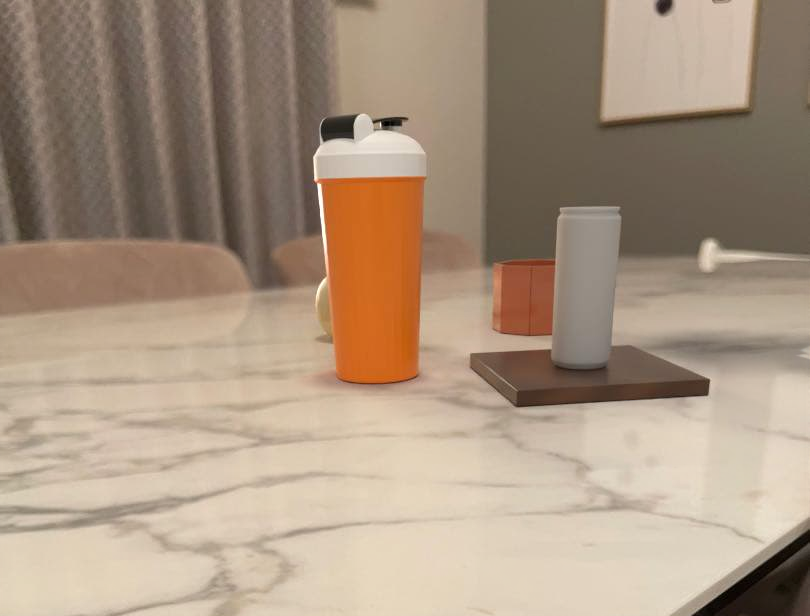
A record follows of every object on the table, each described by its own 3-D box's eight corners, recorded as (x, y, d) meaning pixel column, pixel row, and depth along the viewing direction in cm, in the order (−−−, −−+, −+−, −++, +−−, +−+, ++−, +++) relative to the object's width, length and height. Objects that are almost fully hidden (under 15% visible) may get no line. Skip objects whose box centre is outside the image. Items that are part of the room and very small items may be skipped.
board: (629, 358, 77) (630, 344, 77) (708, 394, 64) (710, 379, 63) (469, 366, 75) (470, 353, 75) (516, 406, 62) (517, 390, 61)
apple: (406, 328, 93) (403, 269, 87) (359, 369, 90) (353, 311, 83) (352, 301, 96) (345, 243, 90) (304, 340, 93) (295, 281, 86)
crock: (557, 321, 98) (560, 258, 95) (582, 332, 91) (586, 264, 88) (487, 324, 97) (488, 260, 94) (506, 336, 89) (508, 267, 87)
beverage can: (538, 365, 69) (544, 208, 65) (575, 356, 72) (583, 206, 68) (586, 373, 66) (596, 208, 61) (622, 364, 69) (635, 206, 64)
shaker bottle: (448, 370, 74) (448, 115, 66) (390, 391, 67) (381, 109, 59) (366, 361, 79) (357, 122, 71) (304, 379, 72) (286, 117, 64)
